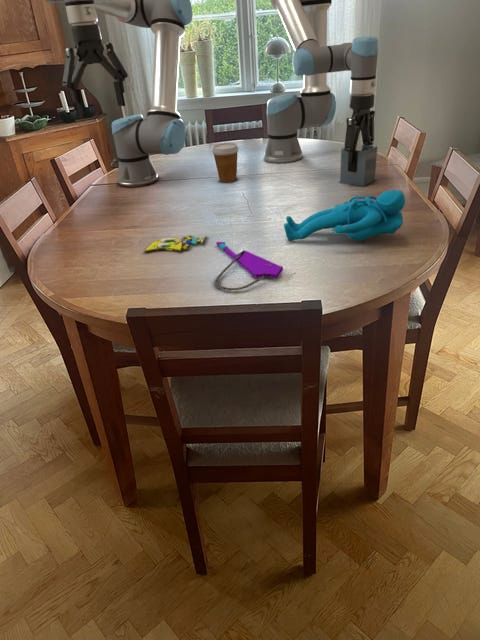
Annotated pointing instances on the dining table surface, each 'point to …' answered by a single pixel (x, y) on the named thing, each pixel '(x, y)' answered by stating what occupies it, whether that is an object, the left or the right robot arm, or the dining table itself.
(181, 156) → the dining table surface
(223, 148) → the disposable coffee cup
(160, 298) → the dining table surface
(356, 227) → the toy
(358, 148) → the block
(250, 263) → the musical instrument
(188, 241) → the toy
